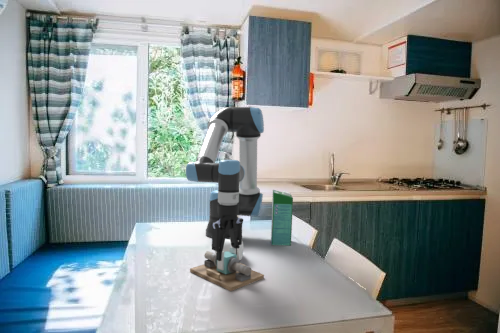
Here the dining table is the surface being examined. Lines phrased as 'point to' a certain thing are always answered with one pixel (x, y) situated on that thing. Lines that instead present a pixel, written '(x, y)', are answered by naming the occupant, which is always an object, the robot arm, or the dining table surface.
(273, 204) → the milk carton
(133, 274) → the dining table surface
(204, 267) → the shaft board
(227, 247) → the mug
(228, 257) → the block
